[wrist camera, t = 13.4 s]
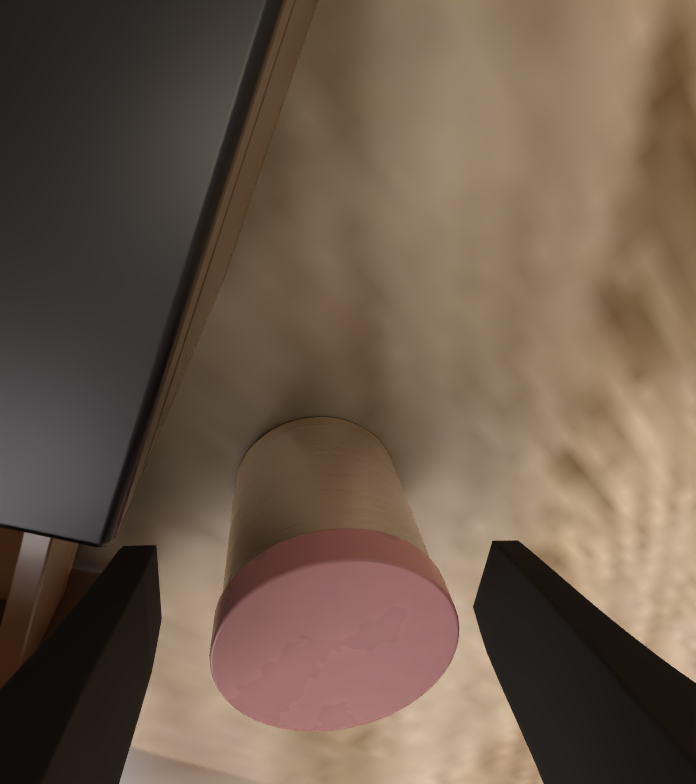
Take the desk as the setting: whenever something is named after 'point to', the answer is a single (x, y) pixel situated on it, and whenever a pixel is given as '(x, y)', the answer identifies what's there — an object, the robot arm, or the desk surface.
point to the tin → (327, 585)
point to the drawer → (34, 593)
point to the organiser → (118, 228)
